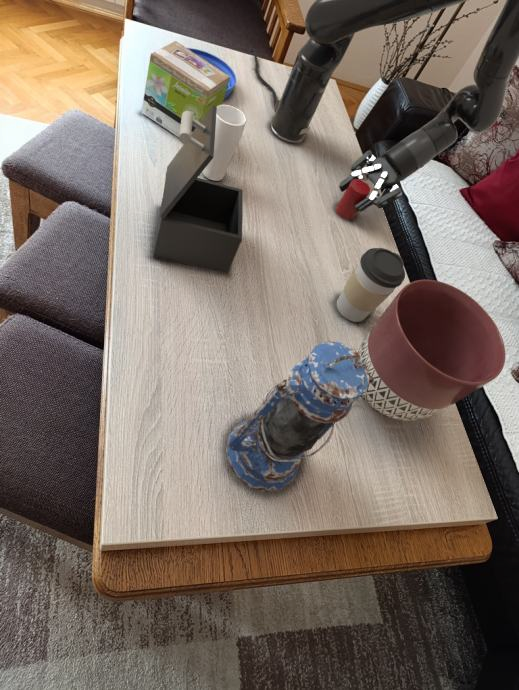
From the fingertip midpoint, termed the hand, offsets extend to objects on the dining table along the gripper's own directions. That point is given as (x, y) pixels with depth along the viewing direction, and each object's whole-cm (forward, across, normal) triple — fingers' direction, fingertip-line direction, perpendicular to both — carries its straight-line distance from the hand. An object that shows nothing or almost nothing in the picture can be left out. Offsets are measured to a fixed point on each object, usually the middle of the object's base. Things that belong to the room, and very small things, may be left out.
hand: (348, 199), depth 117 cm
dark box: (+31, +2, -25) cm, 40 cm away
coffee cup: (+13, +26, -7) cm, 30 cm away
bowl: (+13, -50, -7) cm, 53 cm away
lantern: (+37, +46, -30) cm, 67 cm away
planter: (+17, +44, -11) cm, 49 cm away
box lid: (+22, 0, -40) cm, 46 cm away
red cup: (+2, 0, +4) cm, 5 cm away
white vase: (+22, -16, -16) cm, 32 cm away
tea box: (+23, -34, -16) cm, 44 cm away
